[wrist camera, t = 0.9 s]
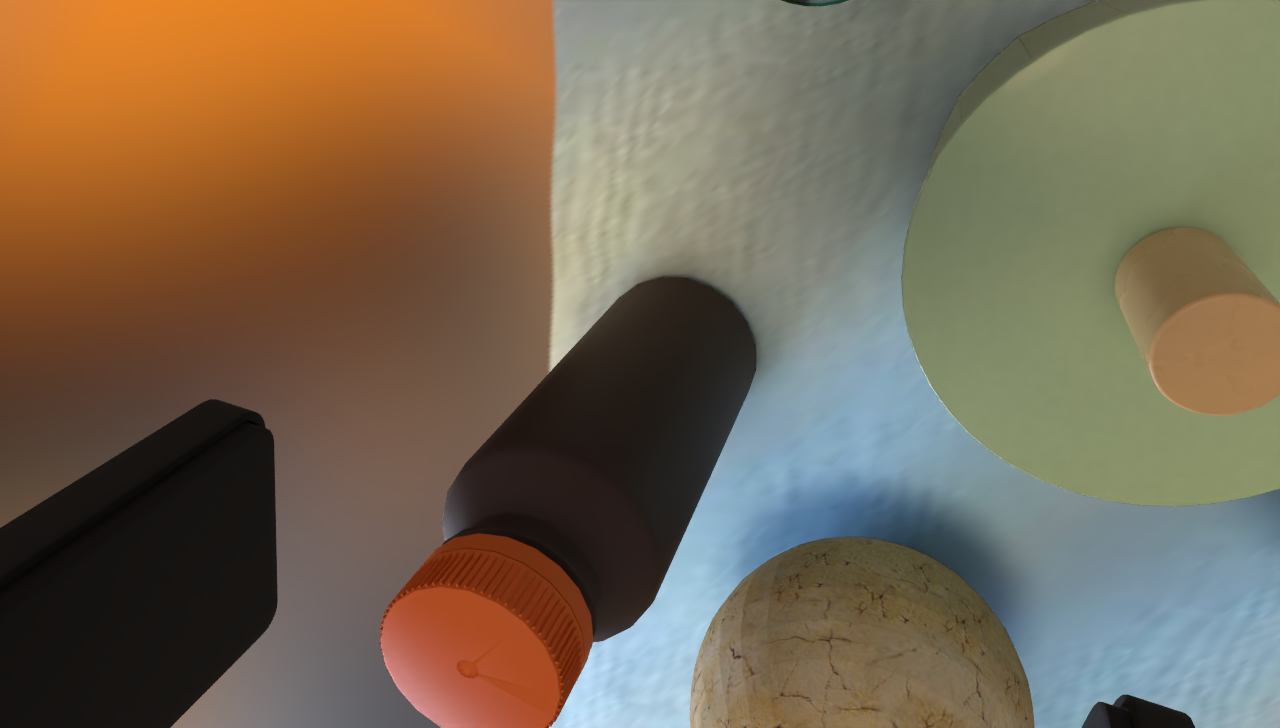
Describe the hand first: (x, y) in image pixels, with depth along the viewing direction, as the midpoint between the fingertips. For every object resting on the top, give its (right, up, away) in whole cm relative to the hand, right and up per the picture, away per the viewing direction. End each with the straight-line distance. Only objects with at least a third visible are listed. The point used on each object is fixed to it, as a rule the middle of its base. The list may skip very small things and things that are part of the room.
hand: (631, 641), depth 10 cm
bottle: (+2, +4, +30) cm, 30 cm away
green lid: (+14, +5, +14) cm, 20 cm away
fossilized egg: (+11, -7, +32) cm, 34 cm away
